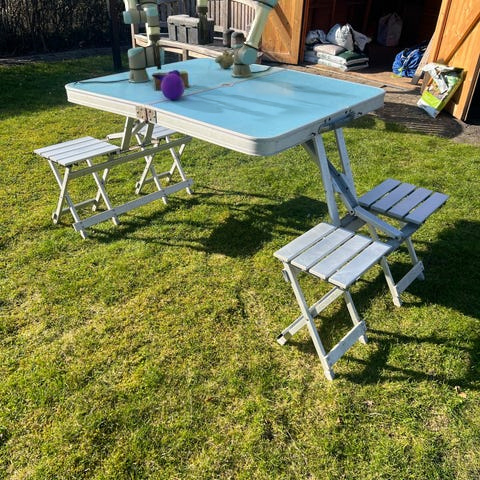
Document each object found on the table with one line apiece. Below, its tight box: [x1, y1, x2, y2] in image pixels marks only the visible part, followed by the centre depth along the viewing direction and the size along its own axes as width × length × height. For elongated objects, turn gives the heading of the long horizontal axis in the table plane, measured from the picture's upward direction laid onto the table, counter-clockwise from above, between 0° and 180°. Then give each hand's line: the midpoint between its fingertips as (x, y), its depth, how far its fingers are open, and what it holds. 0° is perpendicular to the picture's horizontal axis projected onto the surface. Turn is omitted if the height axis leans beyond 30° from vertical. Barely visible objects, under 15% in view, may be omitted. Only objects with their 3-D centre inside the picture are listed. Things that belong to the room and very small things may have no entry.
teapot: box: [214, 49, 234, 70], centre depth 375 cm, size 21×12×15 cm, turn 120°
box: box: [152, 70, 190, 91], centre depth 314 cm, size 23×8×10 cm, turn 107°
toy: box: [151, 69, 186, 101], centre depth 286 cm, size 16×18×27 cm
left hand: (157, 67), depth 307 cm, fingers open, 13 cm apart
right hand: (204, 40), depth 316 cm, fingers open, 13 cm apart
